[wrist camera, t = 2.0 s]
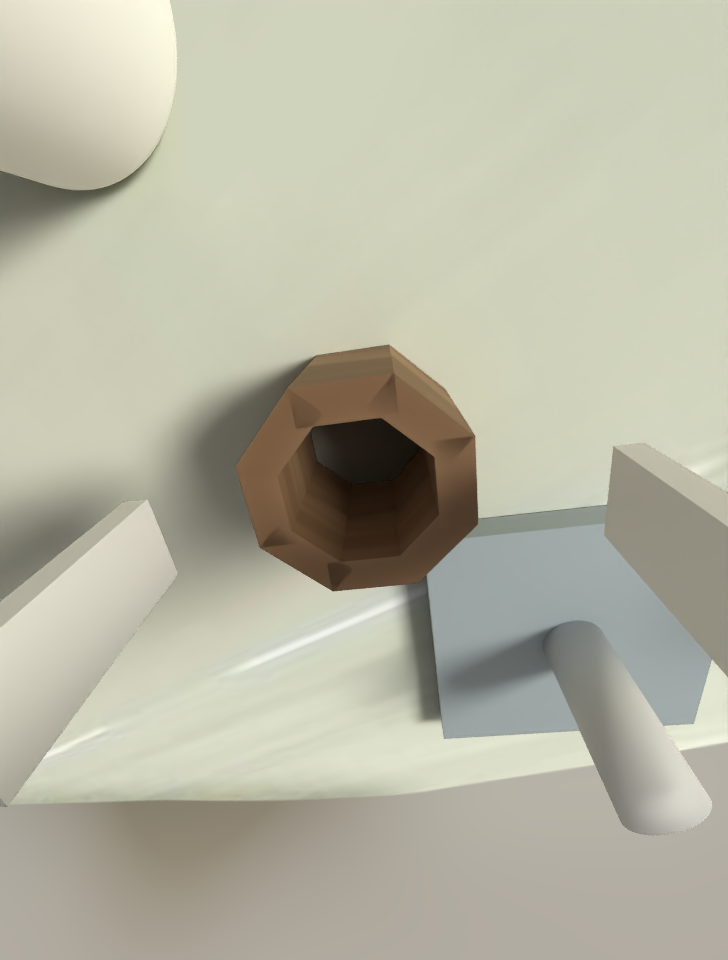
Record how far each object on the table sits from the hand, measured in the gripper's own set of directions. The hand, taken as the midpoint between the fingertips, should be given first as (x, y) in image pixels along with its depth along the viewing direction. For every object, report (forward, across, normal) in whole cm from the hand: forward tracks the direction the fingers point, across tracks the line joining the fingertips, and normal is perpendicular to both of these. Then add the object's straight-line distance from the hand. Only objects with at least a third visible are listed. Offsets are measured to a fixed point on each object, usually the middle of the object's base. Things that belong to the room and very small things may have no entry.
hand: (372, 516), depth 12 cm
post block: (+7, +8, -12) cm, 16 cm away
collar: (+7, 0, 0) cm, 7 cm away
